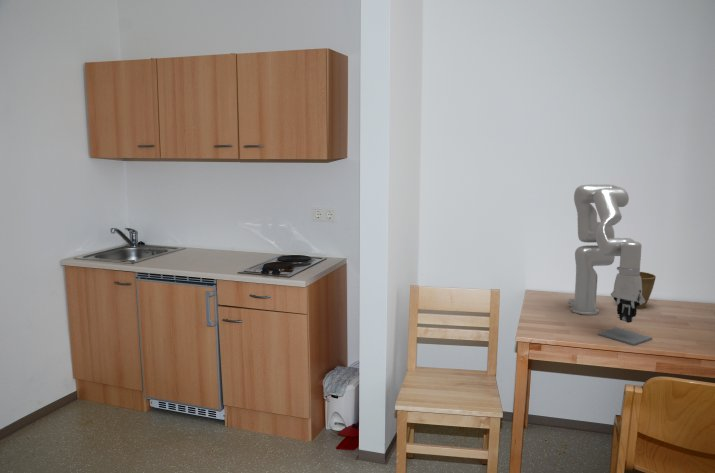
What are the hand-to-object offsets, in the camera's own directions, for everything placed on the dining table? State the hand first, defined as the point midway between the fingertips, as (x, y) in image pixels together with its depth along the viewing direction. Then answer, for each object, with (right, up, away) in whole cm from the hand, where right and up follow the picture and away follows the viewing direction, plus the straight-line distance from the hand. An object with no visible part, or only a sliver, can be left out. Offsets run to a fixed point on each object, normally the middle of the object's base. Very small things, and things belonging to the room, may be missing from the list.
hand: (626, 314), depth 238 cm
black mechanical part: (0, -3, +1) cm, 3 cm away
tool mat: (0, -9, +2) cm, 10 cm away
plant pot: (+26, -2, +46) cm, 53 cm away
